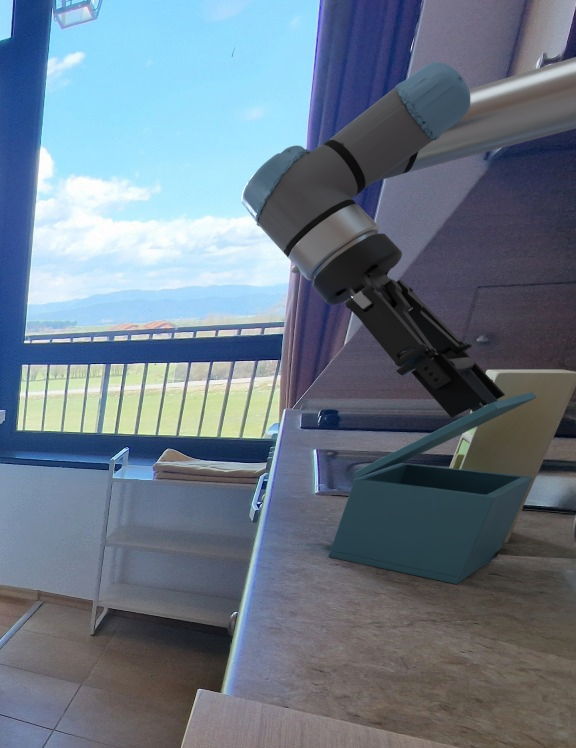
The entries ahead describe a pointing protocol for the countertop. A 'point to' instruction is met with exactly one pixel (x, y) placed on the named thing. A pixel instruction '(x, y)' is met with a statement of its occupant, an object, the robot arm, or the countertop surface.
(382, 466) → the lid
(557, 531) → the countertop surface
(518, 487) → the teal storage box
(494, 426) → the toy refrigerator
